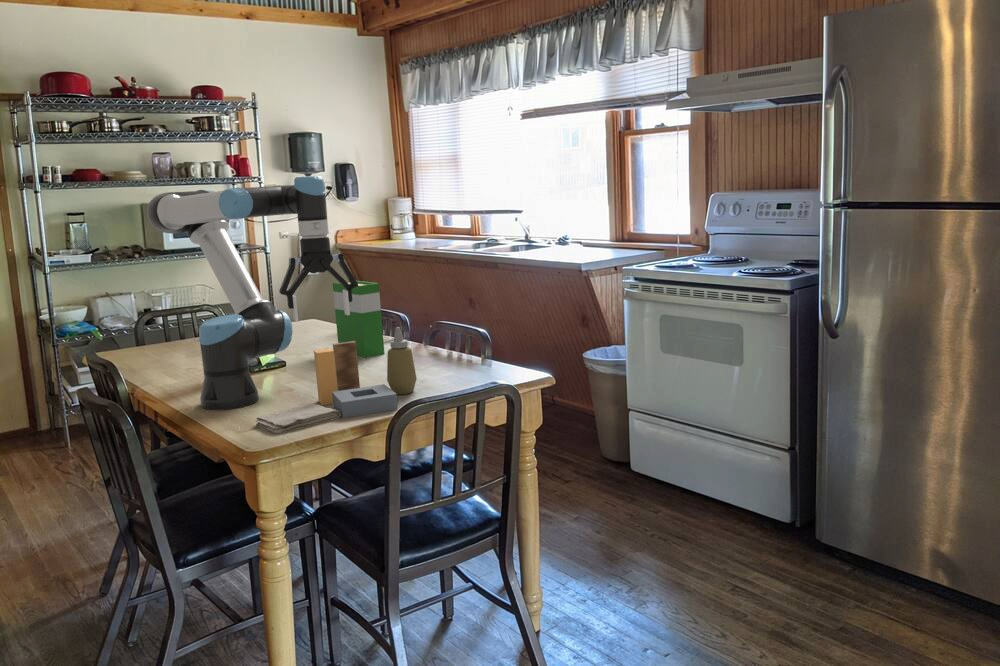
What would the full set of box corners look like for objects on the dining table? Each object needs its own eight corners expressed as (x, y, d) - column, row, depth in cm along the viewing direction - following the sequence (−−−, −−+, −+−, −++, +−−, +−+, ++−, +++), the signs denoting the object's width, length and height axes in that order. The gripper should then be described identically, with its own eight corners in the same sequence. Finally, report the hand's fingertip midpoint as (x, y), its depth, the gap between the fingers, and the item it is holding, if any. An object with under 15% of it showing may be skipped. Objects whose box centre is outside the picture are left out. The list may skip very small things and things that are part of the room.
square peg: (321, 404, 222) (316, 353, 219) (318, 401, 226) (313, 350, 223) (338, 402, 224) (333, 350, 221) (335, 398, 228) (330, 348, 225)
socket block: (343, 417, 208) (341, 402, 208) (333, 406, 219) (331, 391, 219) (397, 409, 214) (396, 393, 213) (385, 398, 225) (384, 384, 224)
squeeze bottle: (396, 387, 236) (391, 324, 232) (422, 389, 233) (417, 325, 229) (382, 395, 228) (377, 330, 225) (409, 396, 225) (404, 330, 222)
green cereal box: (338, 351, 291) (332, 282, 287) (357, 347, 296) (351, 280, 292) (365, 357, 278) (359, 286, 274) (384, 353, 283) (378, 283, 278)
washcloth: (252, 427, 206) (251, 415, 206) (317, 411, 218) (316, 399, 217) (276, 437, 197) (274, 424, 197) (341, 419, 209) (340, 407, 209)
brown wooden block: (338, 394, 232) (334, 344, 229) (337, 393, 234) (332, 343, 231) (360, 391, 234) (355, 342, 231) (358, 389, 236) (354, 340, 233)
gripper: (267, 241, 209) (276, 325, 213) (365, 233, 219) (371, 313, 223) (262, 239, 216) (271, 321, 220) (357, 232, 226) (364, 310, 230)
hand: (321, 317), depth 221 cm, fingers open, 13 cm apart
